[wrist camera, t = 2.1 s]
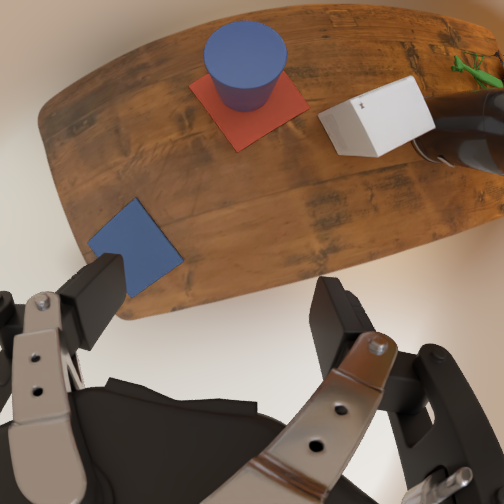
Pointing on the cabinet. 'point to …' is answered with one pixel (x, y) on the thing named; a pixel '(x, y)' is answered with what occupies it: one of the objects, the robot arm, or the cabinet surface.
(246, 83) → the blue can
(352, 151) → the small box
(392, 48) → the cabinet surface
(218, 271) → the cabinet surface
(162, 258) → the blue mat
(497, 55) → the decorative bird
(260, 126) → the terracotta mat
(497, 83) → the praying mantis
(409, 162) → the cabinet surface
